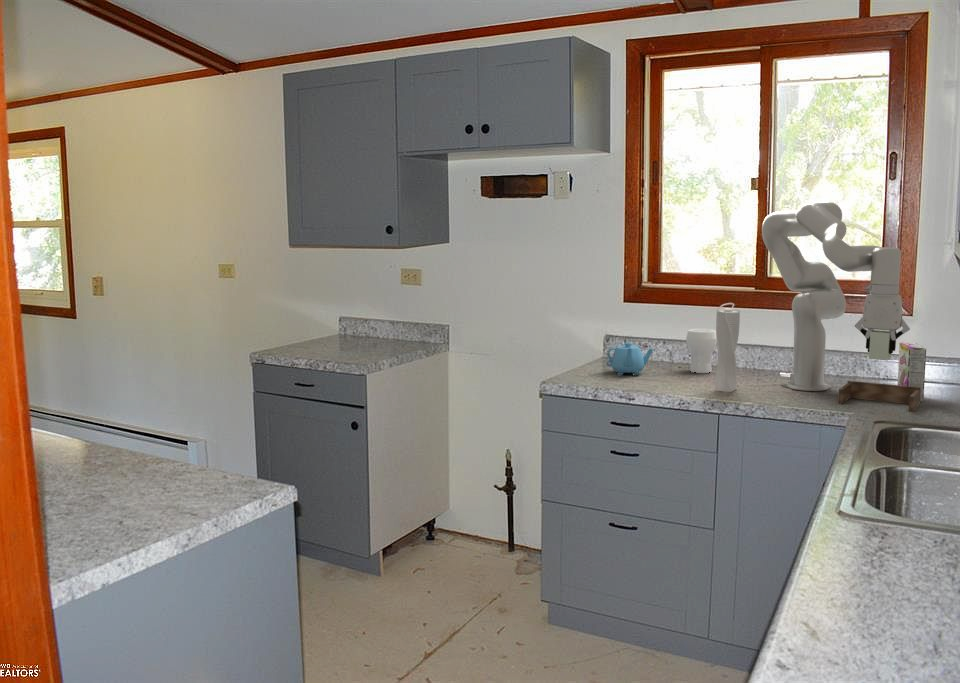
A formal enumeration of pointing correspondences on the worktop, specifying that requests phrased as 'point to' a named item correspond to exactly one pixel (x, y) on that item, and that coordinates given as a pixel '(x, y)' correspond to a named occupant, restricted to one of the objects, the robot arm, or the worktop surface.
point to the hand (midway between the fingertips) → (880, 351)
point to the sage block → (879, 345)
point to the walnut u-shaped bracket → (881, 393)
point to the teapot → (628, 359)
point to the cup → (701, 349)
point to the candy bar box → (912, 366)
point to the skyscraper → (727, 348)
